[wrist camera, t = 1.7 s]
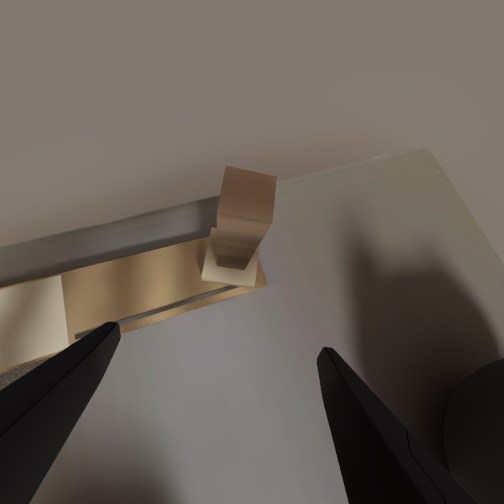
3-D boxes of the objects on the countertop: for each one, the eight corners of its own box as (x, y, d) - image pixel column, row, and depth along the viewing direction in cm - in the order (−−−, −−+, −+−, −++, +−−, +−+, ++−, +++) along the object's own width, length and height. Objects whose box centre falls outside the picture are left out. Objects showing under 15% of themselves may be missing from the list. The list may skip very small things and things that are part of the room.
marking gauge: (250, 288, 22) (295, 250, 9) (202, 281, 21) (183, 231, 9) (257, 236, 24) (301, 148, 11) (213, 228, 23) (209, 127, 11)
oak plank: (245, 230, 25) (247, 226, 24) (264, 286, 23) (267, 284, 22) (-27, 299, 18) (-44, 298, 17) (-25, 382, 17) (-44, 387, 16)
